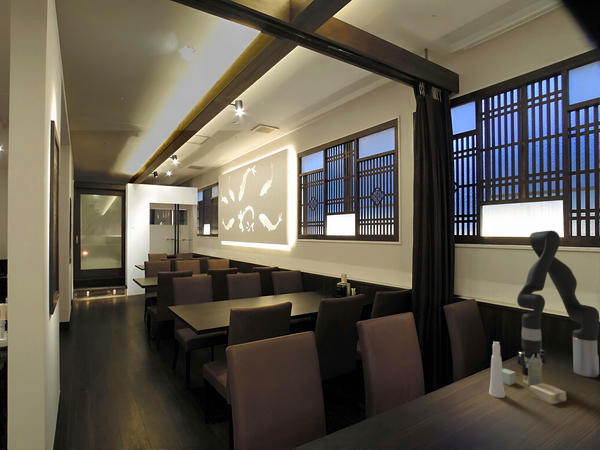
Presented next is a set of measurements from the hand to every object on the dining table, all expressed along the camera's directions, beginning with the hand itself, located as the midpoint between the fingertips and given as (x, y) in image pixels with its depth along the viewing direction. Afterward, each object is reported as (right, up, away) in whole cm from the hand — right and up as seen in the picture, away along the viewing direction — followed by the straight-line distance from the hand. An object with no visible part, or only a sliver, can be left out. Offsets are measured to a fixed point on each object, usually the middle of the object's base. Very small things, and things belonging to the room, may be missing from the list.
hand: (532, 374), depth 159 cm
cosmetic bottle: (-22, -4, -11) cm, 25 cm away
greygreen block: (-10, -5, +2) cm, 11 cm away
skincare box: (0, -5, 0) cm, 5 cm away
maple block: (-2, -4, -13) cm, 14 cm away
